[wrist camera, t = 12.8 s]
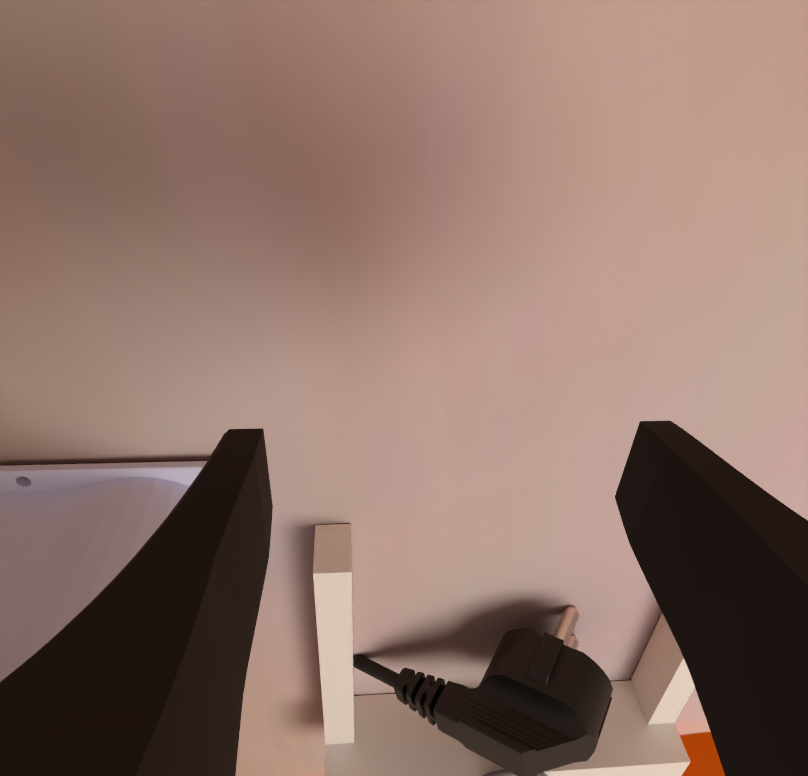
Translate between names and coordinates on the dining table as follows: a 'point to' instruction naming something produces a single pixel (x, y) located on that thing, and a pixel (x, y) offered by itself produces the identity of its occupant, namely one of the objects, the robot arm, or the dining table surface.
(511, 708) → the power plug
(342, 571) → the socket dock
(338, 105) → the dining table surface
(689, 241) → the dining table surface
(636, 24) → the dining table surface
